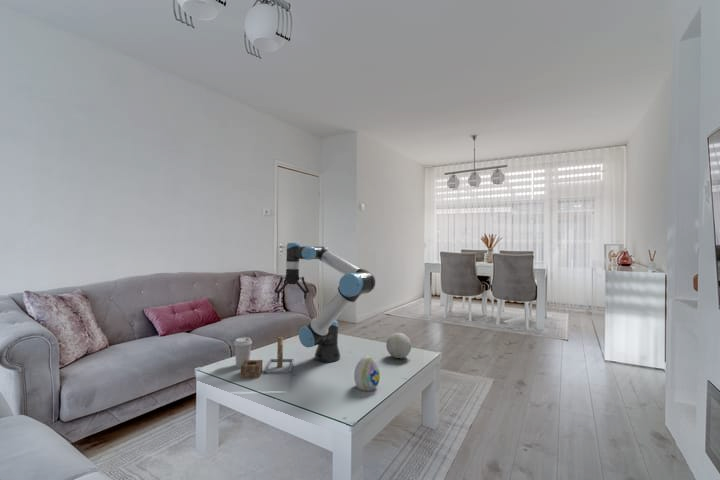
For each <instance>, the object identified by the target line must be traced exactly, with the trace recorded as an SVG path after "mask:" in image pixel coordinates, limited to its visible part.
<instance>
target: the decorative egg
mask: <svg viewBox="0 0 720 480" xmlns="http://www.w3.org/2000/svg"><path fill="white" fill-rule="evenodd" d="M380 373H381V372H380V369H379V365H378V362H376V360H375V358H373V357H372V356H370V355H365V356H363V357H361V358H360V359H359V360H358V362H357V364H356V366H355V369H354V374H353V375H354V376H353V377H354V382H355V385H356V387H357V388H358V389H359V390H360V391H365V392H371V391H374V390H375V389H376V388H377V387H378V386H379V382H380V376H381V374H380Z"/></svg>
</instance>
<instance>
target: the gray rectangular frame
mask: <svg viewBox="0 0 720 480" xmlns="http://www.w3.org/2000/svg"><path fill="white" fill-rule="evenodd" d="M294 360H295V359H294V358H283V362H284V363H285V362H290V365H289V369H287V370H269V369H270V366H271V364H272V362H273V363H277V358H270V359H269V361H268V364H267V365H266V368H265V370H264V374H265V375H268V374H269V375H272V374H274V375H276V374H279V375H282V374H285V375H286V374H291V373H292V368H293V365H294Z"/></svg>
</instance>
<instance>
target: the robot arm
mask: <svg viewBox="0 0 720 480" xmlns="http://www.w3.org/2000/svg"><path fill="white" fill-rule="evenodd" d="M300 260H306V261H309V260H310V261H311V260H319V261H320V262H321V263H322V262H323V263H324V264H325V265H327V266H329V267H330V268H332V269H334V270H336V271H337V272H339V273H340V274H341V275H342V276H341V278H340V279H339V283H338V287H337V293H336V294H335V295H334V296H333V297H332V299H331V300H330V301H329V303H328V304H327V305H326V306H325V307H324V308H323V310H322V311H321V312H320V313H319V314H318V316H317V317H316V318H312V319H311V320H310V322H309V323H308V324H307V325H305V326H302V327H300V329H299V331H298V338H299V342H300V344H301V345H302V346H303V347H305V348H313V347H315V346H317V348H316V350H315V353H314V359H315V360H316V361H317V362H321V363H333V362H337V361H339V360H340V359H341V352H340V349H339V345H338V342H339V340H338V339H339V321H338V320H337V319H338V317H339V316H341V314H342V313H343V312H344V310H346V308H347V307H348V306H349V305H350V304H351V303H355V302H356V301H357V300H358V299H359V297H360V296H361V295H364V294H365V295H366V294H369V293H371V292H372V291H373V290H374V289H375V287H376V278H375V276H374V275H373V274H372V273H371V272H370V271H368V270H366V269H365V268H363V267H360V268H359V267H358V266H356V265H354V264H352V263H351V262H349V261H347V260H345V259H344V258H342V257H340V256H338V255H336V254H335V253H333V252H331V251H330V249H329V247H327V246H323V245H322V246H308V245H307V246H305V245H304V246H303V245H302V246H301V245H300V243H299V242H288V243H287V244H286V262H285V263H286V265H285V267H286V270H285V276H280V278H279V282H277V286H276V287H275V289H274V293H276V294H277V299H279V300H278V301H279V302H278V303H279V304H278V305H279V306H280V305H281V304H282V291H283V290H284V289H285V288H286V286H288V285H297V286H298V288H299V289H300V290H301V291H302V292H303V293H302V306H303V305H305V300H306V299H307V293H310V289H309V288H308V286H307V284H306V281H305V276H300V275H299V274H300V269H299V268H300ZM284 280H285V281H286V282H285V283H284V284H283V285H282V286H281V284H282V283H283V281H284ZM299 280H300V281H301V282H302V284H303V286H304V287H303V286H302V285H301V283H300V282H299ZM280 286H281V287H280ZM279 288H280V289H279Z"/></svg>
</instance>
